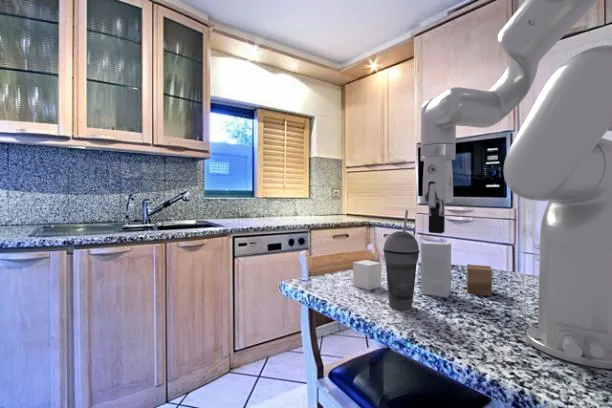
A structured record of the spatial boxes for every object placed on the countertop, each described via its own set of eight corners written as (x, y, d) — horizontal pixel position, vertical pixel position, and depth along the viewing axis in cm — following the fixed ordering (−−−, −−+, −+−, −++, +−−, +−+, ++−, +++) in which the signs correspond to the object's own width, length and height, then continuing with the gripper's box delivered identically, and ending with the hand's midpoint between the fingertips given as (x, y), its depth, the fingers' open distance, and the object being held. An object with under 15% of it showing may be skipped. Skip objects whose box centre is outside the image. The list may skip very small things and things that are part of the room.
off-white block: (368, 290, 80) (368, 265, 80) (352, 285, 84) (353, 262, 83) (381, 286, 83) (381, 263, 83) (365, 282, 87) (365, 260, 87)
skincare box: (451, 293, 77) (452, 242, 77) (448, 298, 73) (449, 245, 73) (424, 289, 80) (425, 240, 80) (420, 294, 77) (420, 242, 76)
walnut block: (491, 296, 75) (492, 270, 75) (467, 293, 78) (467, 268, 77) (489, 290, 80) (489, 266, 80) (466, 288, 82) (467, 264, 82)
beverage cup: (394, 298, 73) (395, 208, 72) (425, 306, 68) (426, 209, 67) (375, 306, 68) (376, 209, 67) (408, 315, 63) (409, 210, 62)
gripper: (448, 148, 68) (446, 237, 68) (460, 156, 80) (459, 231, 80) (411, 151, 72) (410, 234, 72) (429, 158, 84) (428, 229, 85)
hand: (436, 232), depth 76 cm, fingers closed
